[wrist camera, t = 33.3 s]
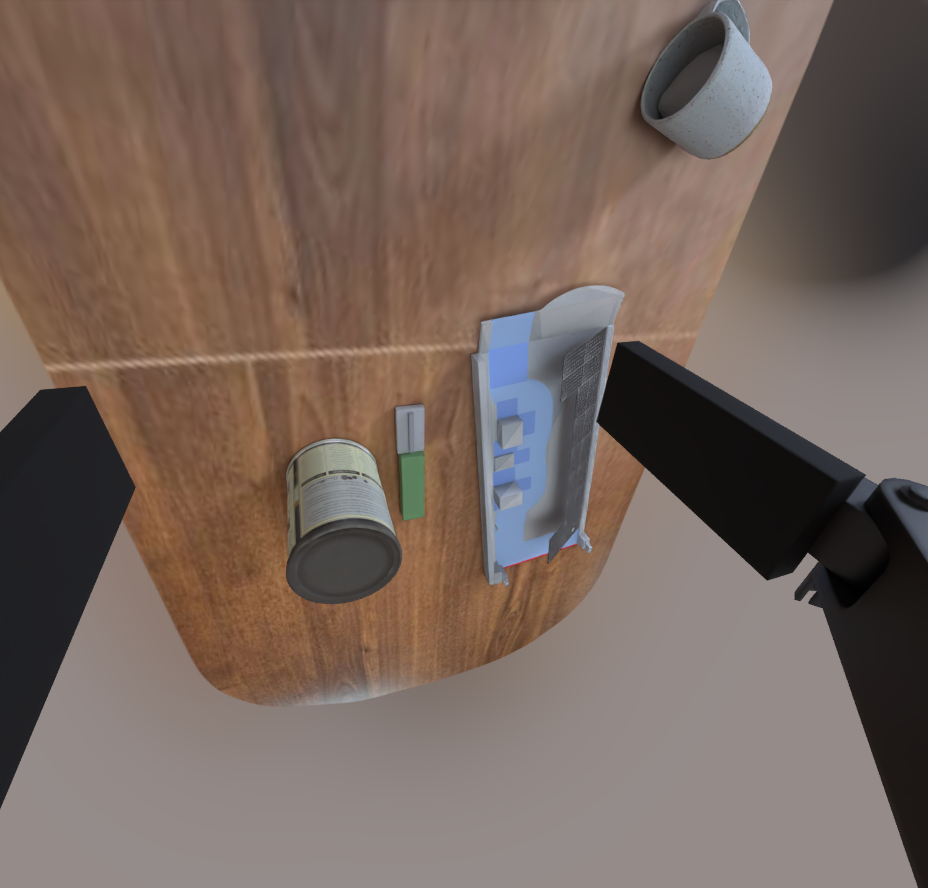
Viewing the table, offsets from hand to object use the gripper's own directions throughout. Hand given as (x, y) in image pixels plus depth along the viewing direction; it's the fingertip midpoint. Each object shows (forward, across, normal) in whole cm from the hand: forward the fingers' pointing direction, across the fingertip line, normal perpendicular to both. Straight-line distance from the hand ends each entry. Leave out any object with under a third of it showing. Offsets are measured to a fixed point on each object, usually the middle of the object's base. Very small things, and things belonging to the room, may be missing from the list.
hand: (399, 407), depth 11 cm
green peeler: (+32, +7, -26) cm, 42 cm away
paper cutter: (+32, +25, -28) cm, 50 cm away
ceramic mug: (+32, +33, +12) cm, 47 cm away
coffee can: (+32, -2, -26) cm, 42 cm away
